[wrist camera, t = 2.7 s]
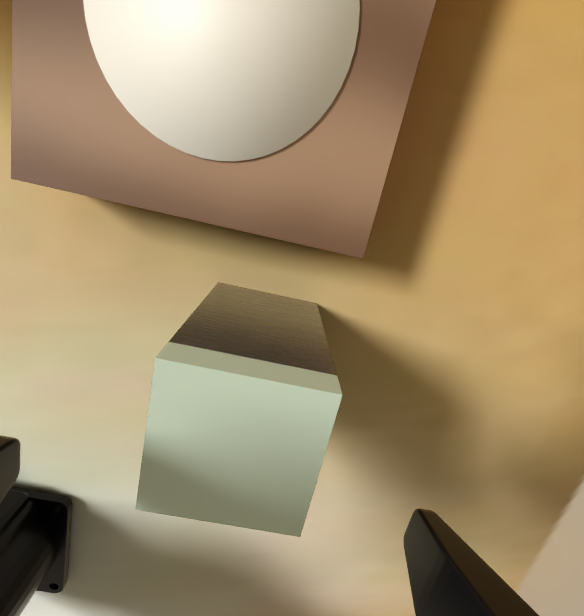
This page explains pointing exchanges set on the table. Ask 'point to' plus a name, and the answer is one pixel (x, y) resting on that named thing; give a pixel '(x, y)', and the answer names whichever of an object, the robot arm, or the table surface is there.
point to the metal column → (240, 413)
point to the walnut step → (218, 107)
